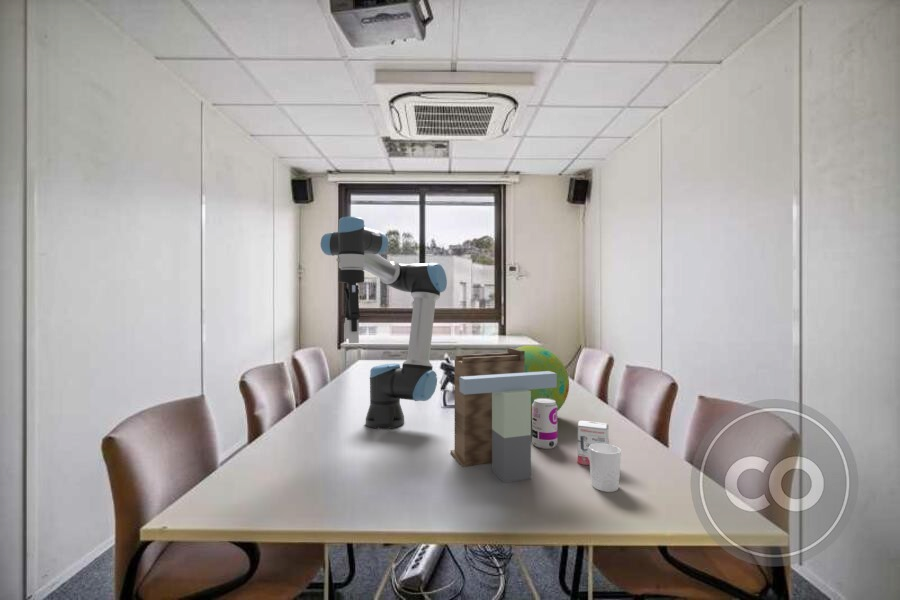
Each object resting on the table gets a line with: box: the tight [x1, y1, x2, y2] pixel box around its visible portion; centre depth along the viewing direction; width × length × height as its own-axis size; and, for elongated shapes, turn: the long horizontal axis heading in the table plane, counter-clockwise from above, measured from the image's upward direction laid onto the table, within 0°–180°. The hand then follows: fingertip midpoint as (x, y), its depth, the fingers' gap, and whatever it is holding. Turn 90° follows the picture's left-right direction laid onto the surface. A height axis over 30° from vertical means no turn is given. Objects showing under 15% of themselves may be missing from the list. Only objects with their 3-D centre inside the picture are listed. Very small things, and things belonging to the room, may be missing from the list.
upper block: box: [492, 390, 532, 438], centre depth 116 cm, size 8×8×12 cm
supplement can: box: [531, 398, 558, 450], centre depth 139 cm, size 8×8×15 cm
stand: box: [450, 347, 525, 467], centre depth 130 cm, size 22×11×33 cm, turn 108°
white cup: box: [589, 443, 622, 493], centre depth 109 cm, size 8×8×10 cm
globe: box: [515, 345, 570, 422], centre depth 170 cm, size 30×30×30 cm
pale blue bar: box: [459, 371, 557, 395], centre depth 116 cm, size 28×4×4 cm, turn 108°
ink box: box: [577, 420, 609, 466], centre depth 124 cm, size 9×5×12 cm, turn 68°
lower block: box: [491, 430, 532, 484], centre depth 116 cm, size 8×8×12 cm
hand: (351, 340), depth 124 cm, fingers open, 13 cm apart
